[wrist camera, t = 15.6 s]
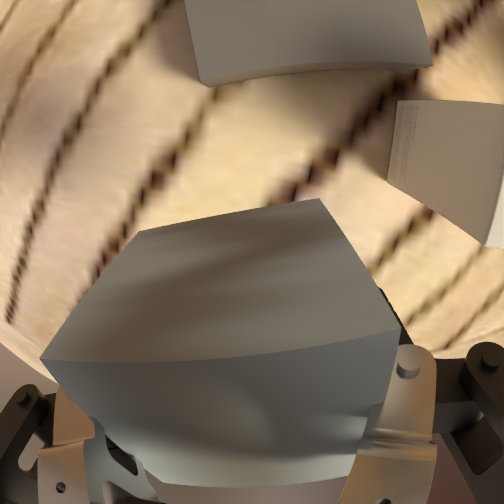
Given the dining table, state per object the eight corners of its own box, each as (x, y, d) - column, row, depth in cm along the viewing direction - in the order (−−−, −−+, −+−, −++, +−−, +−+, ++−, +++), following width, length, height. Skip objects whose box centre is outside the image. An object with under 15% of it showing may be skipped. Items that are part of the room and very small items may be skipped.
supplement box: (383, 183, 22) (481, 249, 10) (395, 98, 19) (510, 99, 7) (447, 197, 22) (542, 258, 11) (460, 121, 19) (568, 147, 8)
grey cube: (319, 198, 9) (401, 327, 3) (329, 339, 11) (360, 472, 6) (139, 231, 9) (39, 358, 4) (190, 357, 12) (163, 482, 7)
